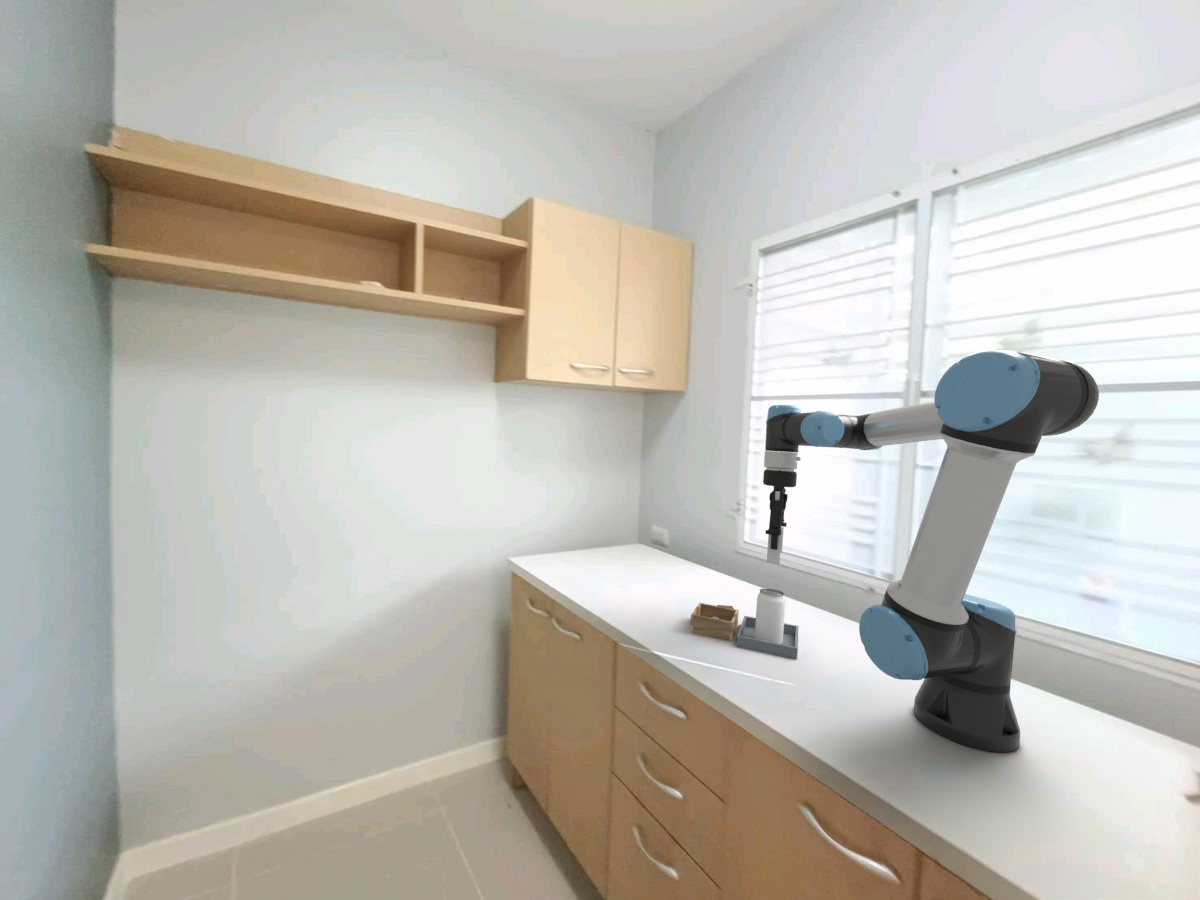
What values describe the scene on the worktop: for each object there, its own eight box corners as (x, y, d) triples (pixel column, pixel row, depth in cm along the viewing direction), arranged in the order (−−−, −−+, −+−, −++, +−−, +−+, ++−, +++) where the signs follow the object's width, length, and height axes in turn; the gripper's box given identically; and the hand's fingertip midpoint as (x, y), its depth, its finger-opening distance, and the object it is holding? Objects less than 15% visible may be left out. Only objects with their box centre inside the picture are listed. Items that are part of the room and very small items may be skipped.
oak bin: (731, 643, 117) (733, 622, 117) (689, 634, 121) (691, 614, 121) (737, 629, 127) (738, 610, 127) (698, 621, 131) (699, 602, 131)
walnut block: (734, 626, 129) (735, 611, 129) (719, 624, 130) (720, 609, 129) (731, 620, 133) (732, 605, 133) (716, 619, 134) (717, 604, 133)
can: (786, 647, 116) (790, 597, 115) (759, 645, 116) (762, 595, 115) (777, 636, 122) (780, 588, 122) (751, 634, 122) (754, 586, 122)
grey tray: (796, 661, 110) (797, 648, 110) (736, 648, 115) (737, 636, 115) (797, 637, 124) (798, 626, 124) (743, 627, 129) (744, 615, 129)
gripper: (796, 472, 105) (789, 571, 105) (797, 469, 128) (792, 550, 128) (759, 470, 108) (753, 565, 108) (767, 467, 131) (762, 546, 131)
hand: (774, 557), depth 118 cm, fingers open, 13 cm apart
